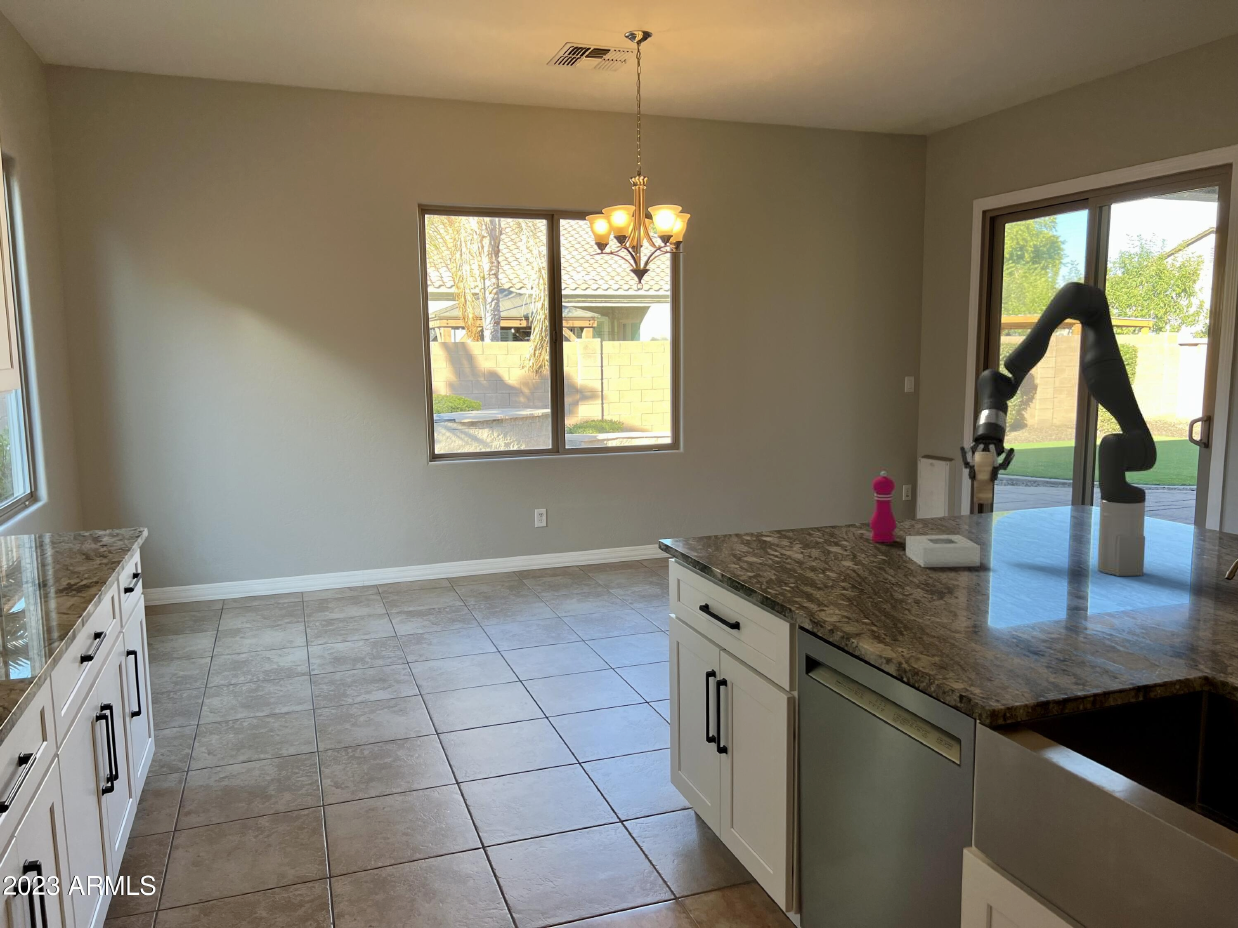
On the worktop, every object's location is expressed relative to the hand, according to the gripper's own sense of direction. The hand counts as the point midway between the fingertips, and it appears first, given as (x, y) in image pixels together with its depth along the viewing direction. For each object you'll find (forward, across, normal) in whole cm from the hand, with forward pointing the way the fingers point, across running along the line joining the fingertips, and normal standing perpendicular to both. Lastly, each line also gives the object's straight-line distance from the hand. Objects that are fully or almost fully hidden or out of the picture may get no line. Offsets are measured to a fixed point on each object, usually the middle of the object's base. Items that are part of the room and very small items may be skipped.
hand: (982, 479), depth 224 cm
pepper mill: (+9, -27, +19) cm, 35 cm away
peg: (+3, 0, +6) cm, 6 cm away
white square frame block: (+21, -8, +7) cm, 24 cm away
